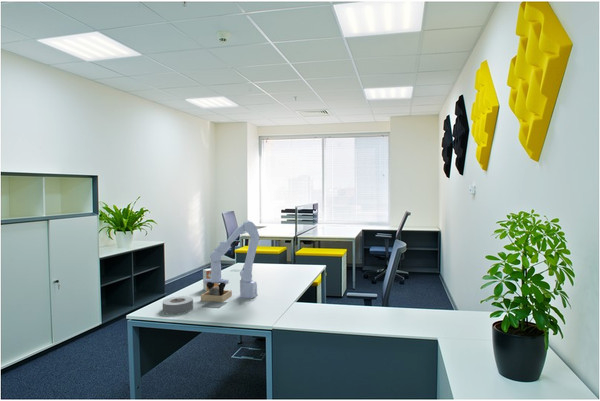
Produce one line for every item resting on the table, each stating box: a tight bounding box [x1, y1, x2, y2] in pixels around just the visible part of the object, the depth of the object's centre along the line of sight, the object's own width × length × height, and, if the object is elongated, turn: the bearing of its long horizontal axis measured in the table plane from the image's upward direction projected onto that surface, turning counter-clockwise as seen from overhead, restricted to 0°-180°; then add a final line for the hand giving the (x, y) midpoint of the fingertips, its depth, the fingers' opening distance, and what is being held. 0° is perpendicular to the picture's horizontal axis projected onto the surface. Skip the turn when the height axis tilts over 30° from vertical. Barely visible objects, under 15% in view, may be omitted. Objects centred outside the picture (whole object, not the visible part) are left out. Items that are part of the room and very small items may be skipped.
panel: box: [201, 301, 228, 309], centre depth 204 cm, size 10×10×1 cm
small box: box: [202, 267, 220, 292], centre depth 238 cm, size 8×6×13 cm
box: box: [209, 286, 225, 296], centre depth 217 cm, size 5×8×6 cm, turn 165°
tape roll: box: [162, 295, 194, 315], centre depth 199 cm, size 15×15×5 cm
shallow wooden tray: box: [200, 289, 233, 302], centre depth 217 cm, size 13×12×4 cm
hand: (216, 295), depth 217 cm, fingers closed on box, 5 cm apart
